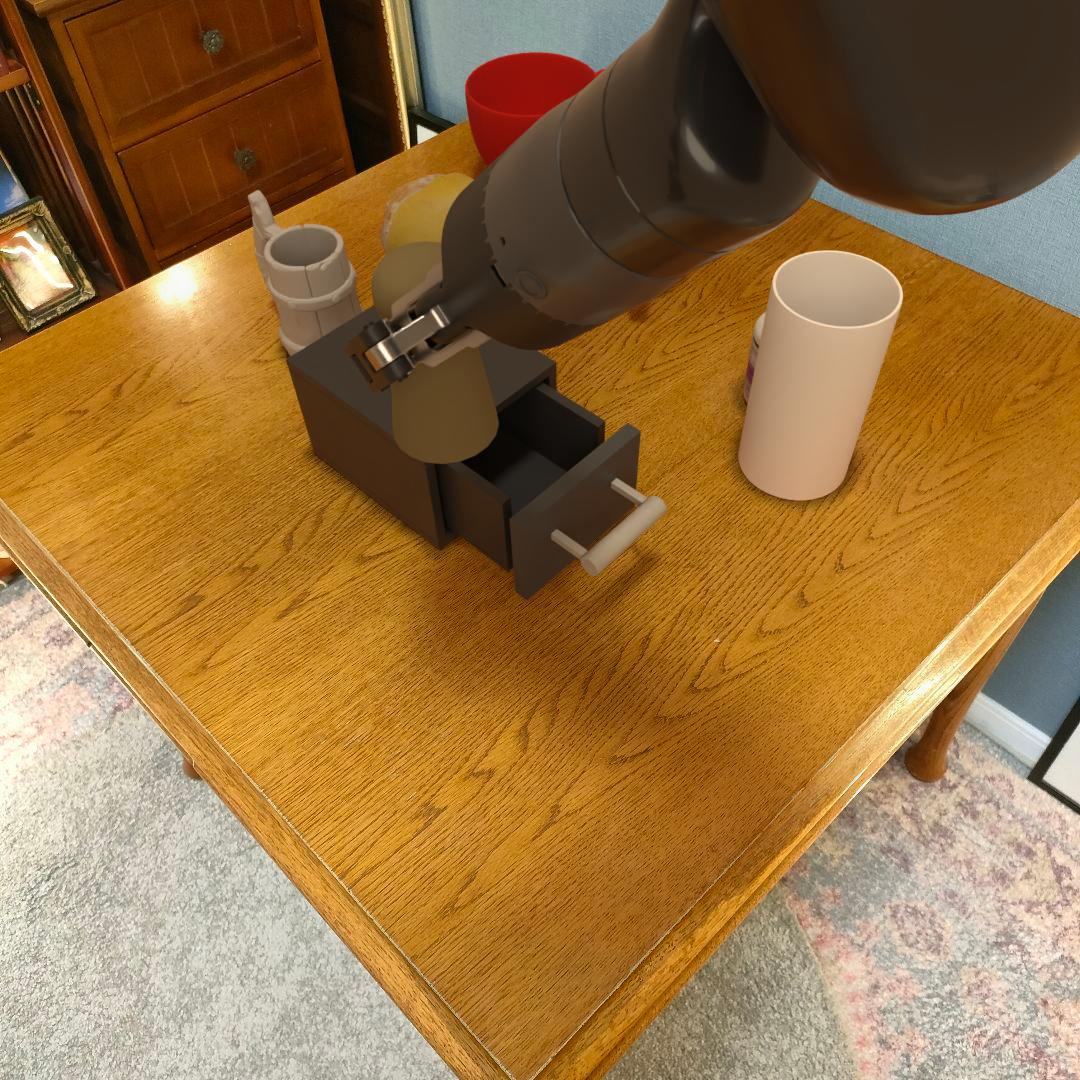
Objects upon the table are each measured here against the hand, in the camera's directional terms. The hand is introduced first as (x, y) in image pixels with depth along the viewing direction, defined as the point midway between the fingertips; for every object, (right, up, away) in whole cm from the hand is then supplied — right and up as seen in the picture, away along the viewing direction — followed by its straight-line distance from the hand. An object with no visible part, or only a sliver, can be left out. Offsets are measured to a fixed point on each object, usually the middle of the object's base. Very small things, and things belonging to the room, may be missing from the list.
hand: (410, 339), depth 51 cm
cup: (+26, -5, +23) cm, 35 cm away
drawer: (+7, -9, +18) cm, 21 cm away
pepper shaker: (+2, -4, +3) cm, 6 cm away
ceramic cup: (+8, +28, +49) cm, 57 cm away
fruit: (-2, +13, +38) cm, 40 cm away
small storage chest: (-1, -4, +24) cm, 24 cm away
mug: (-13, +7, +34) cm, 37 cm away
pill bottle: (+26, +1, +27) cm, 38 cm away
